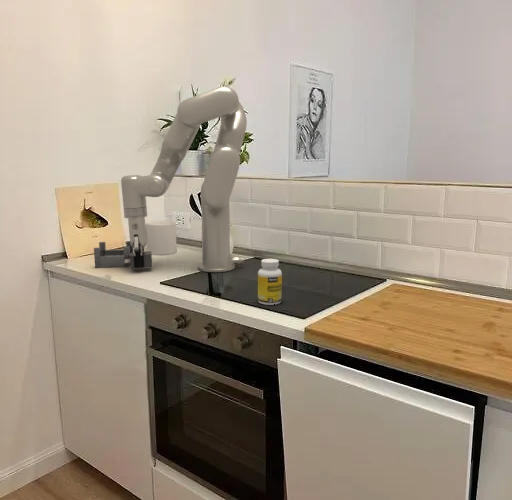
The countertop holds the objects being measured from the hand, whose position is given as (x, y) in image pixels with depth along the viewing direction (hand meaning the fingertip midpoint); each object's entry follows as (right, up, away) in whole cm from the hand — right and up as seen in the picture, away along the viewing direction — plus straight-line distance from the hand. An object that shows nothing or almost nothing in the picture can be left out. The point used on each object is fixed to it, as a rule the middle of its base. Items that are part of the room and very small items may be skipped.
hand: (140, 264), depth 173 cm
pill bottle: (+43, -9, -35) cm, 57 cm away
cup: (+2, +4, +30) cm, 31 cm away
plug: (0, 0, 0) cm, 1 cm away
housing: (-12, 0, +11) cm, 16 cm away
